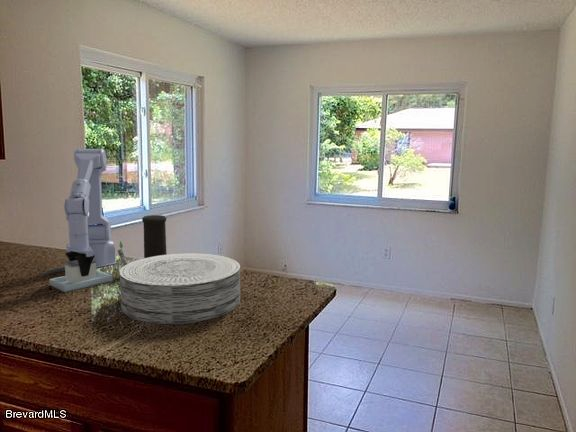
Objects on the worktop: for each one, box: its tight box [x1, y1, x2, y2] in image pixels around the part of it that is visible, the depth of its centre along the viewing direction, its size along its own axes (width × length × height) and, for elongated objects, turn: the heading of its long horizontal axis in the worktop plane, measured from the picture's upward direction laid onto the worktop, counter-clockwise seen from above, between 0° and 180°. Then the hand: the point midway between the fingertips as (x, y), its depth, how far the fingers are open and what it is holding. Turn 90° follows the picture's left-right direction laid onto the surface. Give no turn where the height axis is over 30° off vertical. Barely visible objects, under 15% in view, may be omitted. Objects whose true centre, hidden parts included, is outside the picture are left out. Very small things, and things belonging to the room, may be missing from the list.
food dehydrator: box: [117, 240, 241, 325], centre depth 139 cm, size 38×34×18 cm
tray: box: [48, 269, 113, 293], centre depth 156 cm, size 16×11×2 cm
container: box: [141, 214, 168, 259], centre depth 173 cm, size 9×9×20 cm
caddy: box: [64, 260, 97, 283], centre depth 155 cm, size 8×5×6 cm, turn 139°
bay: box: [44, 266, 65, 275], centre depth 166 cm, size 11×13×5 cm
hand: (81, 274), depth 156 cm, fingers closed on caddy, 5 cm apart
